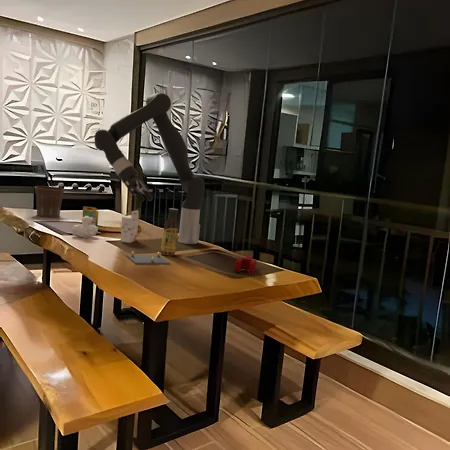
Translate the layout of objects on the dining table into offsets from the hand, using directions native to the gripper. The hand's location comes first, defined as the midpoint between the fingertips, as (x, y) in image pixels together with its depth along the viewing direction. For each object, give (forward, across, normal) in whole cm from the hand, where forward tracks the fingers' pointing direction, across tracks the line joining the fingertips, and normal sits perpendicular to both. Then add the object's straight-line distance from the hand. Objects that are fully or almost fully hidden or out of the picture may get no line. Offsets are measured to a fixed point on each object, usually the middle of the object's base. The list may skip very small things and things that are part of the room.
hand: (147, 200), depth 198 cm
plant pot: (-41, +49, +72) cm, 96 cm away
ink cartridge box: (+6, +15, +25) cm, 30 cm away
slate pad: (+22, -15, +9) cm, 28 cm away
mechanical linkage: (+49, -4, -18) cm, 52 cm away
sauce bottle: (+24, 0, +7) cm, 25 cm away
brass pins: (+22, -16, +8) cm, 29 cm away
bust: (-7, +8, +38) cm, 40 cm away
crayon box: (-14, +28, +45) cm, 55 cm away
